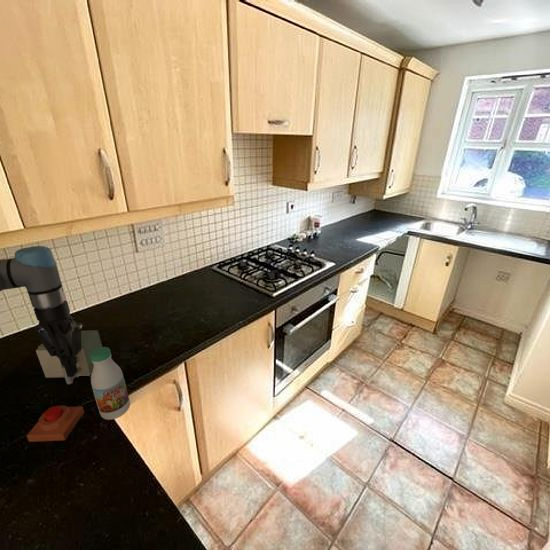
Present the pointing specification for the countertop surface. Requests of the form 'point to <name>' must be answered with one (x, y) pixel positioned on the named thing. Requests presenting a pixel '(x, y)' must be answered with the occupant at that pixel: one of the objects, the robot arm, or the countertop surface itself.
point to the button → (53, 413)
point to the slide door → (55, 368)
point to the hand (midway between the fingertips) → (72, 373)
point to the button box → (56, 425)
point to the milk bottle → (108, 385)
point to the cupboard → (86, 345)
